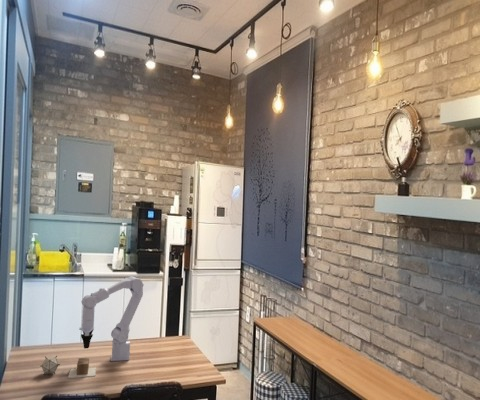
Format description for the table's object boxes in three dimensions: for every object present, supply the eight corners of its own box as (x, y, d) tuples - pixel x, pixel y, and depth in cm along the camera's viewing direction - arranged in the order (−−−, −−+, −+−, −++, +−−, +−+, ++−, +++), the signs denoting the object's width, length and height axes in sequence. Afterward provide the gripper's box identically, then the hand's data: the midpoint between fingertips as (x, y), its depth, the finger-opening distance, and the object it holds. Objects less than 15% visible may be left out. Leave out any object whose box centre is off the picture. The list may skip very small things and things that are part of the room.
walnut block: (89, 357, 199) (88, 363, 191) (88, 367, 199) (87, 374, 191) (78, 357, 198) (77, 364, 189) (78, 367, 198) (76, 375, 189)
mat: (96, 368, 199) (96, 367, 199) (94, 376, 190) (95, 375, 190) (70, 370, 196) (70, 369, 196) (68, 378, 186) (68, 377, 186)
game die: (50, 382, 189) (49, 371, 183) (36, 374, 191) (35, 362, 185) (64, 368, 196) (63, 356, 191) (50, 359, 198) (49, 348, 192)
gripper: (80, 315, 209) (79, 341, 209) (78, 323, 195) (77, 351, 195) (94, 315, 211) (93, 340, 211) (93, 322, 198) (92, 350, 197)
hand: (86, 345), depth 203 cm, fingers open, 7 cm apart
